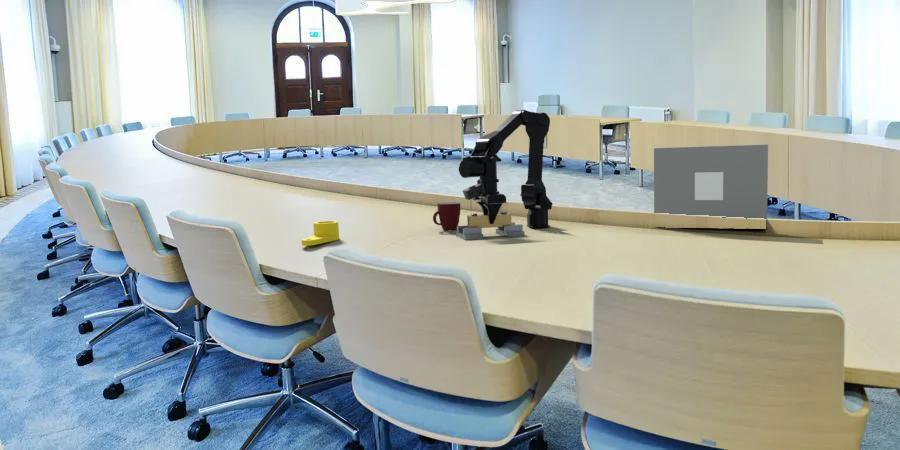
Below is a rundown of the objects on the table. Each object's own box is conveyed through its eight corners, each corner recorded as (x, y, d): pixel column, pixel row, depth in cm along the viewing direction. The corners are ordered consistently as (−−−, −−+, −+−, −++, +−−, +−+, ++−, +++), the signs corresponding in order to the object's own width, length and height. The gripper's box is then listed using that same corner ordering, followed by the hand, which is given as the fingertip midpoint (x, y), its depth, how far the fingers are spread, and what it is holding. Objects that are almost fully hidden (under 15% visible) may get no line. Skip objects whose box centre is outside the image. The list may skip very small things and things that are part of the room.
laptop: (765, 220, 244) (767, 143, 241) (766, 230, 221) (768, 144, 217) (663, 220, 258) (663, 146, 255) (653, 228, 235) (653, 148, 232)
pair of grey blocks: (512, 231, 237) (512, 221, 237) (524, 236, 226) (524, 225, 225) (456, 235, 232) (455, 225, 232) (465, 240, 221) (465, 229, 220)
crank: (322, 237, 242) (321, 220, 241) (343, 238, 239) (342, 220, 239) (294, 245, 225) (293, 227, 225) (316, 245, 223) (315, 227, 222)
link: (508, 224, 232) (508, 211, 231) (511, 226, 228) (511, 212, 227) (467, 227, 230) (467, 213, 229) (469, 228, 226) (469, 214, 225)
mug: (442, 234, 239) (441, 205, 237) (428, 232, 245) (427, 204, 244) (465, 230, 245) (464, 202, 244) (451, 229, 251) (450, 201, 250)
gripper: (457, 176, 234) (459, 222, 236) (472, 178, 216) (474, 228, 218) (488, 174, 237) (490, 220, 238) (506, 176, 219) (507, 225, 220)
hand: (489, 223), depth 229 cm, fingers closed on link, 4 cm apart
